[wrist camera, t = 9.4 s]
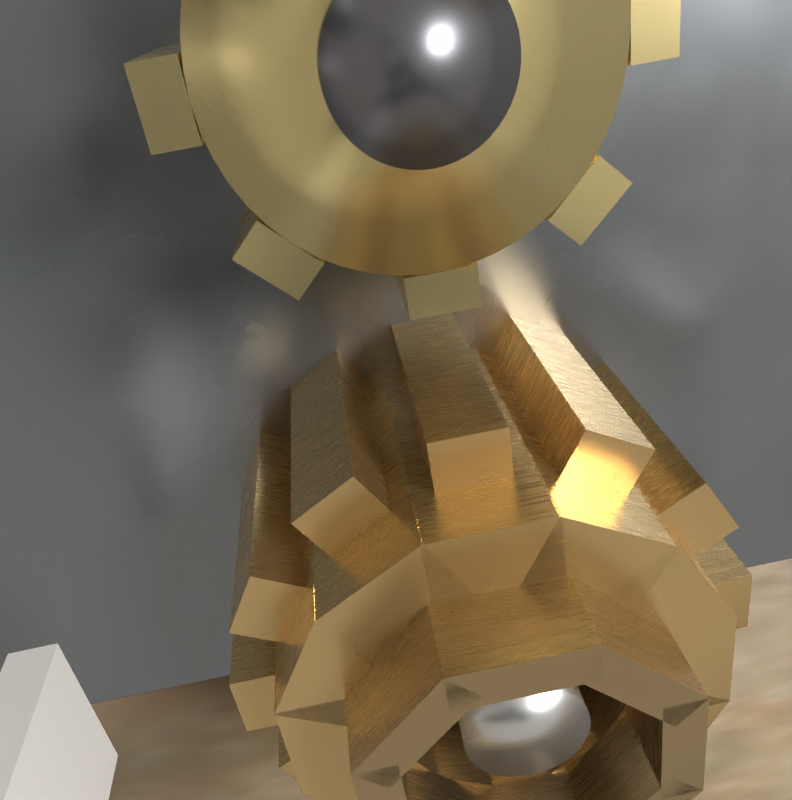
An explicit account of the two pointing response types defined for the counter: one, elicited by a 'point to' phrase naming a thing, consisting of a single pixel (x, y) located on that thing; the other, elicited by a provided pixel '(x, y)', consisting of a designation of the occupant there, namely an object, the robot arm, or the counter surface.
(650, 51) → the carrier
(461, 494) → the gear
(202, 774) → the counter surface
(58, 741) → the robot arm
